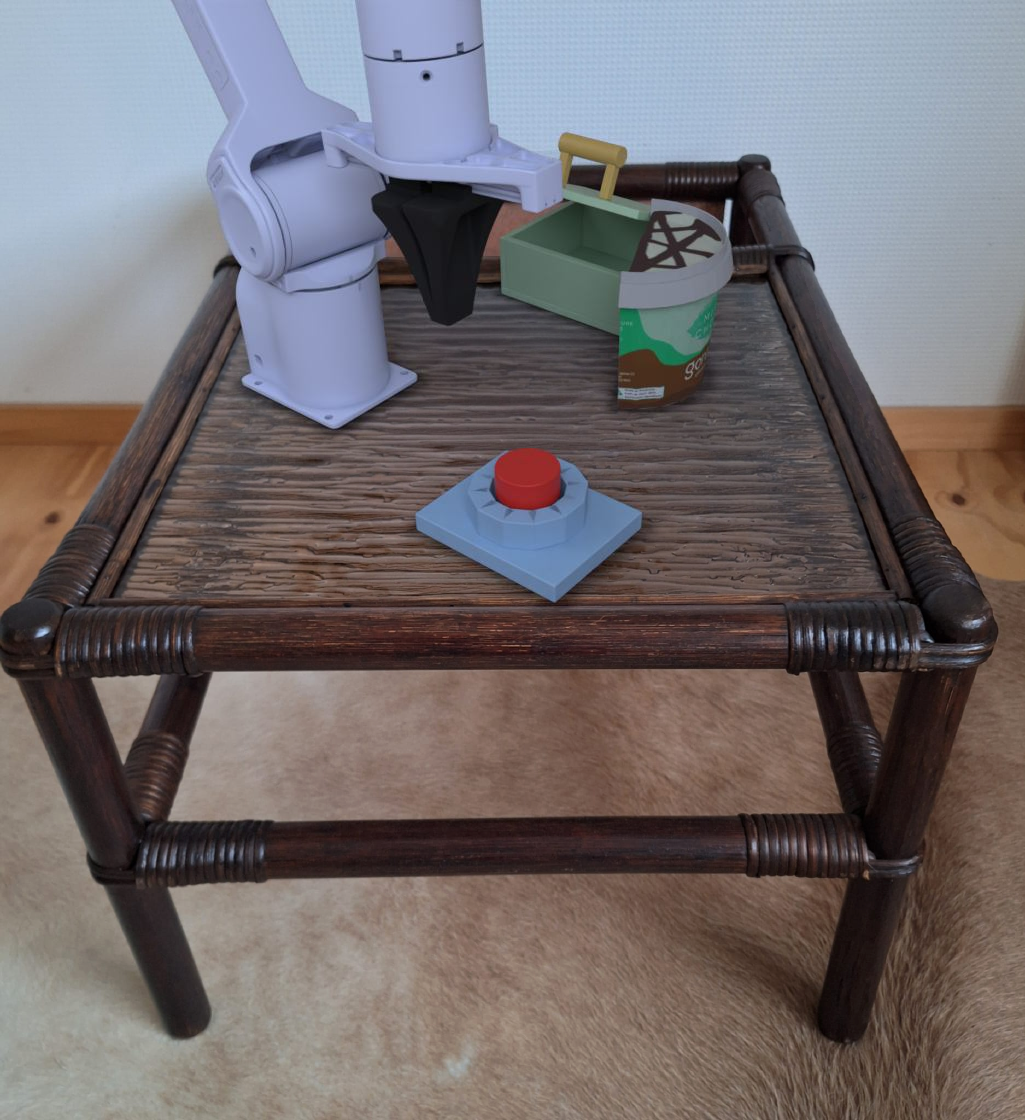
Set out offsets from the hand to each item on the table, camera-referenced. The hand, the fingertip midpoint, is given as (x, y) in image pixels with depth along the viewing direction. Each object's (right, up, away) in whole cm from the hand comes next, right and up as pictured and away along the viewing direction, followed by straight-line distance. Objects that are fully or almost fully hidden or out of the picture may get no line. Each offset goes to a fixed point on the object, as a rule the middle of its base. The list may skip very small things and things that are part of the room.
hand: (452, 317), depth 58 cm
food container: (+14, -1, +15) cm, 21 cm away
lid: (+10, +13, +20) cm, 26 cm away
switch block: (+4, -12, +2) cm, 13 cm away
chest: (+10, +8, +25) cm, 28 cm away
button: (+4, -10, +1) cm, 10 cm away
